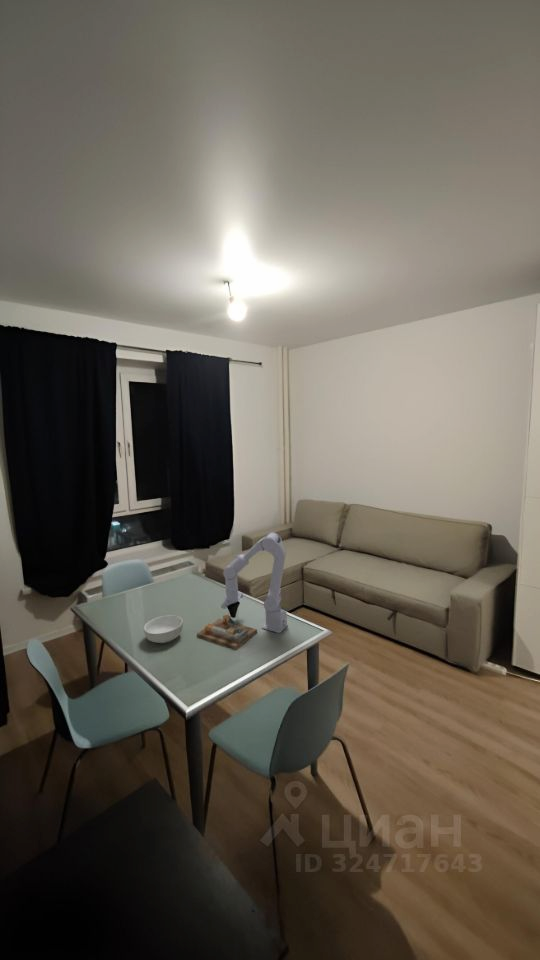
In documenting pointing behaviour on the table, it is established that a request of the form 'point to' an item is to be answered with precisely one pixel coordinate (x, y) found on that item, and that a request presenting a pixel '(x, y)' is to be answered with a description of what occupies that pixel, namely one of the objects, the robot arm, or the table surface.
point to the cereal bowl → (163, 628)
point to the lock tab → (231, 630)
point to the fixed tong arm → (222, 633)
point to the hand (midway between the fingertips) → (233, 616)
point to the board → (224, 641)
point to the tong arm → (231, 623)
